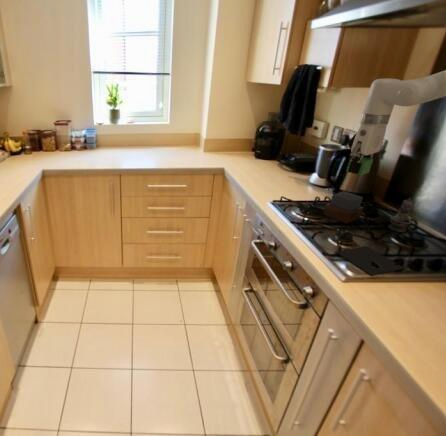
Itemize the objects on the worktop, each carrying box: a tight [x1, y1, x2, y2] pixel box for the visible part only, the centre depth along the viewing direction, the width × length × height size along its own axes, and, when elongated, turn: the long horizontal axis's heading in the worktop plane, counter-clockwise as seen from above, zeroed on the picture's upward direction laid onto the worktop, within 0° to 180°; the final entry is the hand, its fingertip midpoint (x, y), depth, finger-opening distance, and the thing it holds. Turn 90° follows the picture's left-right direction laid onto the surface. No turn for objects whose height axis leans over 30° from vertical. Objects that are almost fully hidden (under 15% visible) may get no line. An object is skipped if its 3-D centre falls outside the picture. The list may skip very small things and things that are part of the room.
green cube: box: [346, 155, 374, 176], centre depth 112 cm, size 5×5×5 cm
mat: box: [335, 246, 405, 277], centre depth 96 cm, size 12×12×1 cm
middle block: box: [329, 190, 364, 211], centre depth 119 cm, size 7×7×4 cm
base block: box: [322, 201, 365, 224], centre depth 121 cm, size 9×9×4 cm
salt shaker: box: [387, 197, 415, 233], centre depth 110 cm, size 6×6×12 cm
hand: (357, 170), depth 113 cm, fingers closed on green cube, 5 cm apart
